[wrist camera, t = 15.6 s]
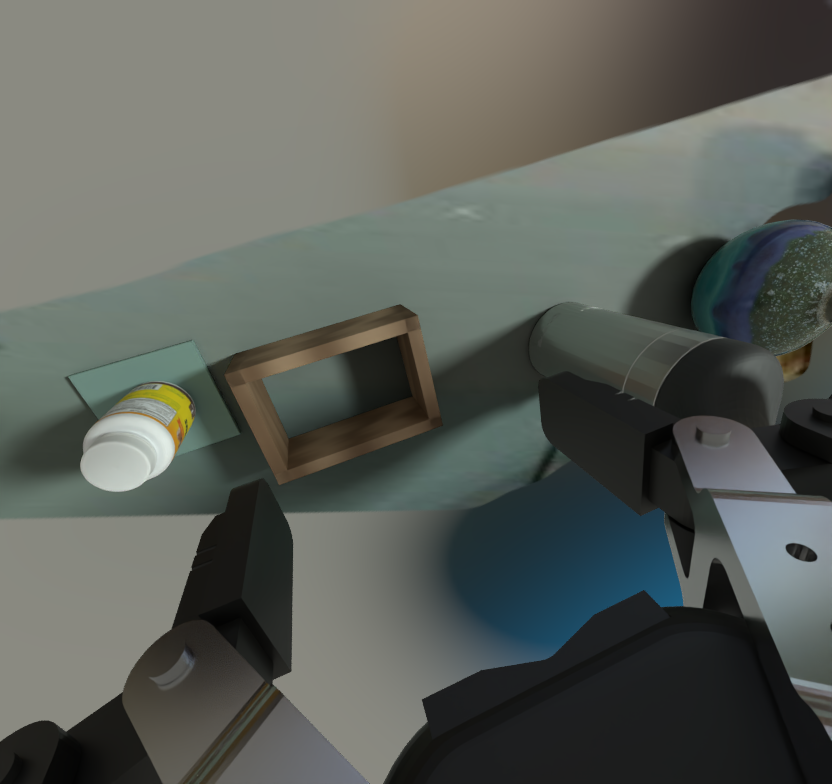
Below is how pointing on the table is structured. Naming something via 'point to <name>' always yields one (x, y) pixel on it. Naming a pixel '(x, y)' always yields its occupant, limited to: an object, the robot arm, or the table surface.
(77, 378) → the mat
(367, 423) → the box
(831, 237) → the vase
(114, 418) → the supplement bottle
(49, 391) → the table surface
